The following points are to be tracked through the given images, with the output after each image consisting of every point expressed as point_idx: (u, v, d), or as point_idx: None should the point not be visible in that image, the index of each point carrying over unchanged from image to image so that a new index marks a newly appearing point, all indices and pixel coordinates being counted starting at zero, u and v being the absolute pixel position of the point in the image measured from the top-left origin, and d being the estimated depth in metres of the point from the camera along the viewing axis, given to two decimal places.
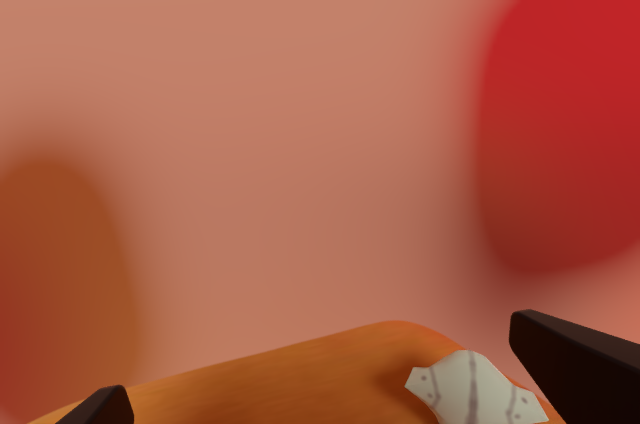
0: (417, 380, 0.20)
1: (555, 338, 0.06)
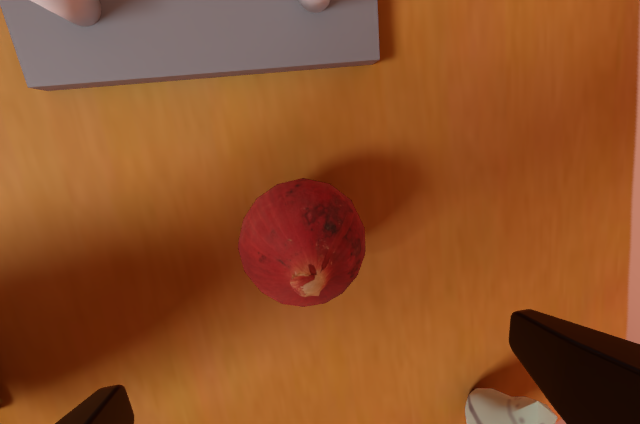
0: (541, 417, 0.18)
1: (555, 338, 0.06)
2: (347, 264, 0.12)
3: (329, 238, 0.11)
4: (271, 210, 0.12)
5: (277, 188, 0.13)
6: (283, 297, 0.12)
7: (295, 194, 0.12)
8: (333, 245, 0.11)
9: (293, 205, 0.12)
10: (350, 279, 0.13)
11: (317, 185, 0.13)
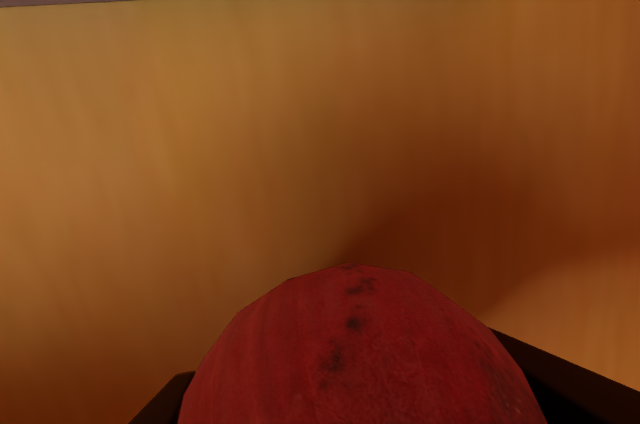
0: None
1: None
2: None
3: None
4: None
5: (285, 327, 0.04)
6: None
7: (358, 379, 0.03)
8: None
9: None
10: None
11: (416, 315, 0.04)
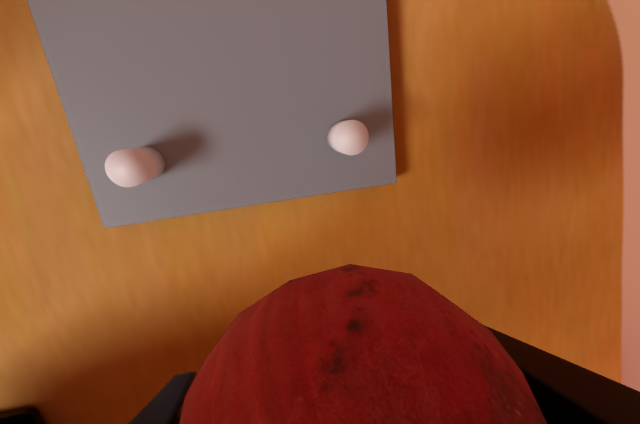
0: None
1: None
2: None
3: None
4: None
5: (286, 330, 0.04)
6: None
7: (359, 380, 0.03)
8: None
9: None
10: None
11: (417, 317, 0.04)
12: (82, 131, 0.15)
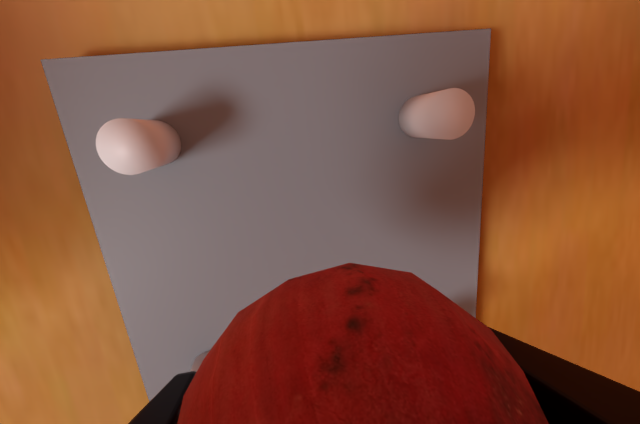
0: None
1: None
2: None
3: None
4: None
5: (285, 328, 0.04)
6: None
7: (358, 380, 0.03)
8: None
9: None
10: None
11: (417, 316, 0.04)
12: (142, 341, 0.13)
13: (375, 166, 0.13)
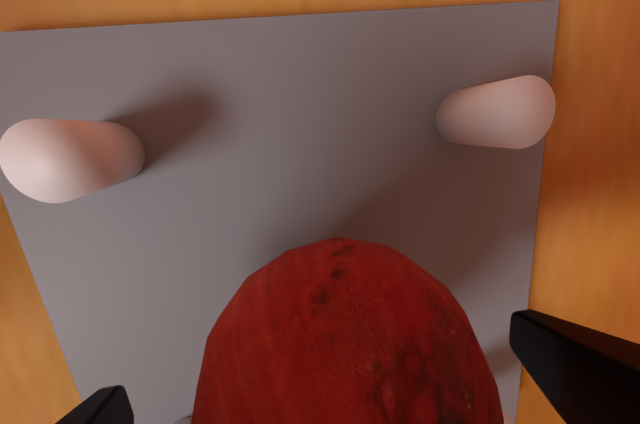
0: None
1: (555, 338, 0.06)
2: None
3: None
4: (271, 366, 0.04)
5: (286, 279, 0.05)
6: None
7: (337, 307, 0.05)
8: None
9: (335, 351, 0.04)
10: None
11: (384, 269, 0.05)
12: None
13: (404, 181, 0.10)
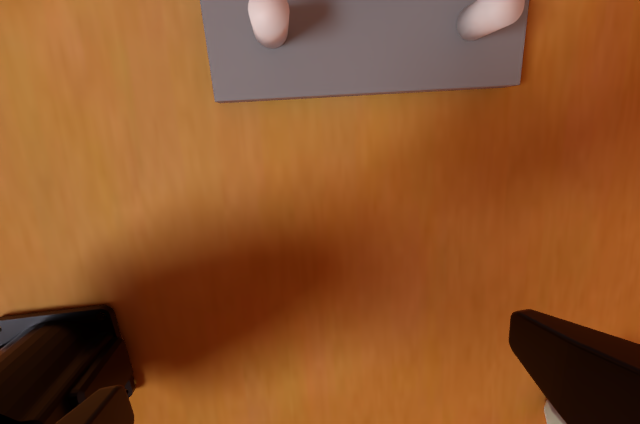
0: None
1: (555, 338, 0.06)
2: None
3: None
4: None
5: None
6: None
7: None
8: None
9: None
10: None
11: None
12: None
13: None
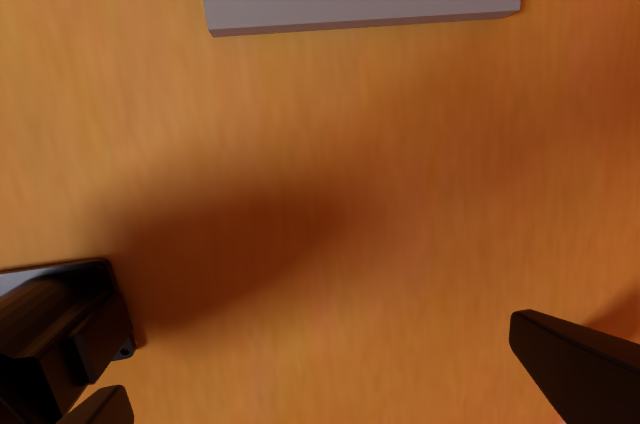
0: None
1: (555, 338, 0.06)
2: None
3: None
4: None
5: None
6: None
7: None
8: None
9: None
10: None
11: None
12: None
13: None
